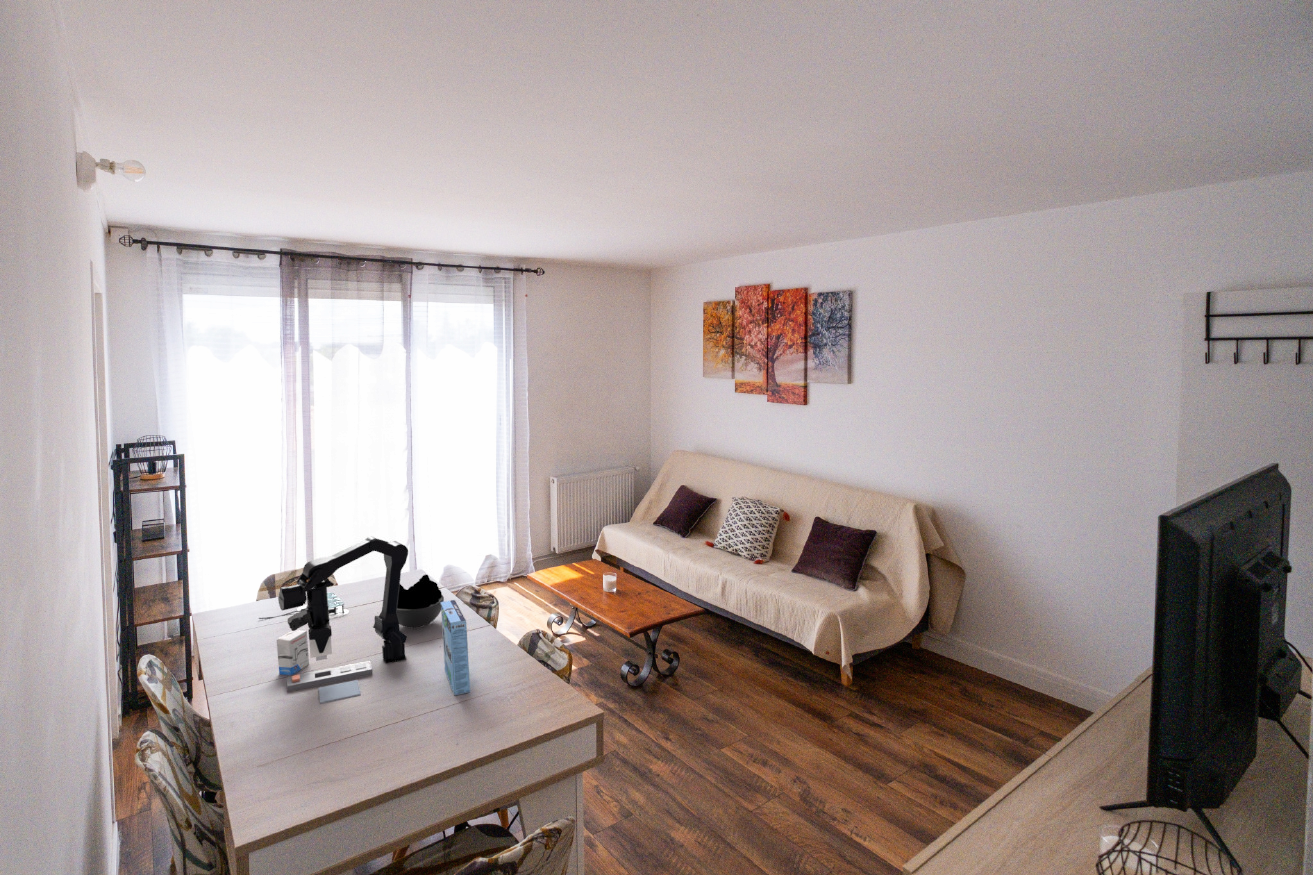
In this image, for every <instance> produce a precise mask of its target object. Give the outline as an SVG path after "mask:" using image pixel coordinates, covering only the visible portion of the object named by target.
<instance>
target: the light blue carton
mask: <svg viewBox="0 0 1313 875" xmlns="http://www.w3.org/2000/svg"><path fill="white" fill-rule="evenodd" d="M440 613H441V625H442V626H441V627H442V640H443V641H442V643H443V659H444V660H443V661H444V671H445V674H446V678H447V679H448V682H449V685H450V688H451V690H452V693H453V695H454V696H460V695H463V694H464V695H465V694H467V693H468V694H469V693H470V692H471V686H470V680H471V679H470V667H469V666H470V665H469V663H470V662H469V648H468V630H467V619H466V618H465V616H464V614H463V613H462V610H461V608H460V607H459V605H458V604H457V600H456V599H453V600H452V599H451V600H446V601H445V600H444V602H441V612H440Z"/></svg>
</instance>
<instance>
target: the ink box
mask: <svg viewBox="0 0 1313 875" xmlns="http://www.w3.org/2000/svg"><path fill="white" fill-rule="evenodd" d="M308 641H309V640H308V631H307V630H300V629H297V630H295V631H292V630H291V631H289V632H287V633H285V634H283V635H281V636H280V637H277V639H276V650H277V662H278V664H277V665H278V674H279V675H285V676H293V675H296V673H298V672H299V671H301V670H303V669H304V668H305V667H307V666H308V665H309V664H310V658H309V644H308Z"/></svg>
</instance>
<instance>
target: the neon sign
mask: <svg viewBox="0 0 1313 875" xmlns="http://www.w3.org/2000/svg"><path fill="white" fill-rule="evenodd" d="M327 598H328V611H329V620H330V619H333V618H338V617H343V616H345V615H348V613H349V612H350V611H349V610H348V609H347V608H345V607H344V605H345V604H346V603H345V602H344V601H341V600H342V598H340V597H338V596H337V595H336V593H335V592H327ZM306 606H307V604H306V605H305V604H304V605H303V606H300V607H297V609H296V610H294V611H291V612H288V613H284V614H281V615H280V614H279V615H277V616H266V617H258V620H264V619H274V618H278V617H282V616H287V615H291V614H294V613H299V612H301V611H304V610H306V609H307V608H306Z"/></svg>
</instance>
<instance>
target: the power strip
mask: <svg viewBox="0 0 1313 875" xmlns="http://www.w3.org/2000/svg"><path fill="white" fill-rule="evenodd" d="M372 675H373V668H372V663H371V661H370V660H366V661H360V662H355V663H350V664H345V665H340V666H334V667H329V668H325V669H319V670H314V671H309V672H304V673H298V674H293V675H287V677H286V689H287V693H290V692H294V691H298V690H299V691H300V690H304V689H309V688H314V687H318V686H323V685H324V686H325V685H328V684H329V685H330V684H333V683H338V682H343V681H344V682H345V681H349V680H353V679H358V678H361V677H362V678H363V677H367V676H372Z"/></svg>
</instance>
